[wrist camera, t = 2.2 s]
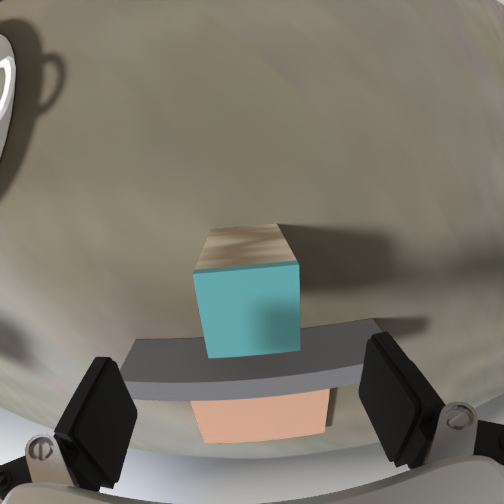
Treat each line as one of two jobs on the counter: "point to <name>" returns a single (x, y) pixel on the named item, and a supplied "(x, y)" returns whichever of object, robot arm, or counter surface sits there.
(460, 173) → the counter surface
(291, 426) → the terracotta tile
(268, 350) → the block
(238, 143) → the counter surface
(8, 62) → the pan
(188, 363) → the board
